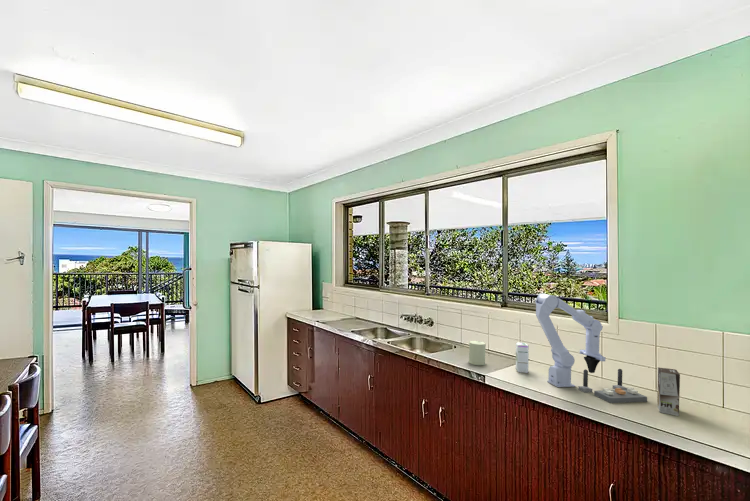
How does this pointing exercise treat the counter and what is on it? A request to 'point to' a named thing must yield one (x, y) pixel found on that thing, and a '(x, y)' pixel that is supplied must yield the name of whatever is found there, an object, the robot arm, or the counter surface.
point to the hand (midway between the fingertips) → (591, 372)
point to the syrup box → (522, 357)
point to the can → (477, 352)
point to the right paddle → (632, 391)
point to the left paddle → (608, 391)
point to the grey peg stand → (585, 383)
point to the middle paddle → (620, 391)
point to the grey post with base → (619, 381)
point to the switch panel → (620, 397)
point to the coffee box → (668, 391)
